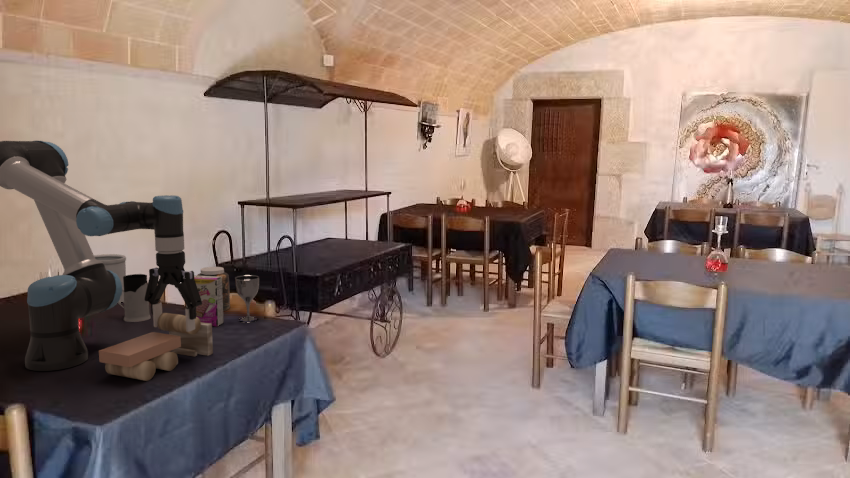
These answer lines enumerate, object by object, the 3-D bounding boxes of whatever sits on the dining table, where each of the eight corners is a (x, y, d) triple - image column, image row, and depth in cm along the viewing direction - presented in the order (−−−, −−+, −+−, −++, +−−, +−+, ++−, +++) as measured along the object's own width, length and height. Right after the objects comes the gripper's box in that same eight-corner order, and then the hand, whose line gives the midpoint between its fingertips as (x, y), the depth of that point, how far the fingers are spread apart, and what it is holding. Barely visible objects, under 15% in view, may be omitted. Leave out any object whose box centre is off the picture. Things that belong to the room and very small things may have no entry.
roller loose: (185, 328, 176) (194, 313, 179) (154, 324, 180) (163, 309, 183) (195, 337, 180) (203, 322, 183) (164, 333, 184) (172, 318, 187)
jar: (191, 312, 231) (190, 271, 228) (203, 304, 242) (202, 265, 240) (224, 312, 230) (222, 272, 228) (234, 304, 242) (233, 266, 240)
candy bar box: (186, 325, 213) (183, 277, 211) (192, 321, 218) (190, 274, 216) (218, 327, 212) (216, 279, 210) (224, 323, 217) (222, 275, 215)
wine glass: (235, 317, 224) (234, 275, 222) (258, 315, 227) (257, 274, 225) (237, 323, 217) (236, 280, 215) (261, 321, 219) (260, 279, 217)
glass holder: (141, 322, 217) (139, 279, 214) (103, 320, 219) (100, 277, 217) (156, 315, 225) (154, 274, 223) (119, 313, 227) (117, 272, 225)
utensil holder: (122, 295, 254) (119, 252, 252) (133, 303, 243) (130, 257, 240) (81, 301, 245) (78, 256, 242) (90, 309, 233) (87, 262, 231)
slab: (129, 367, 159) (128, 355, 159) (99, 361, 163) (98, 350, 162) (180, 346, 176) (180, 336, 176) (152, 342, 180) (152, 331, 179)
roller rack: (144, 384, 162) (142, 349, 160) (102, 376, 167) (100, 343, 165) (212, 353, 186) (211, 323, 184) (174, 347, 191) (173, 318, 189)
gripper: (213, 252, 176) (216, 329, 179) (148, 246, 184) (152, 320, 188) (194, 256, 169) (198, 336, 172) (127, 250, 177) (132, 327, 181)
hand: (174, 328), depth 180 cm, fingers closed on roller loose, 11 cm apart
